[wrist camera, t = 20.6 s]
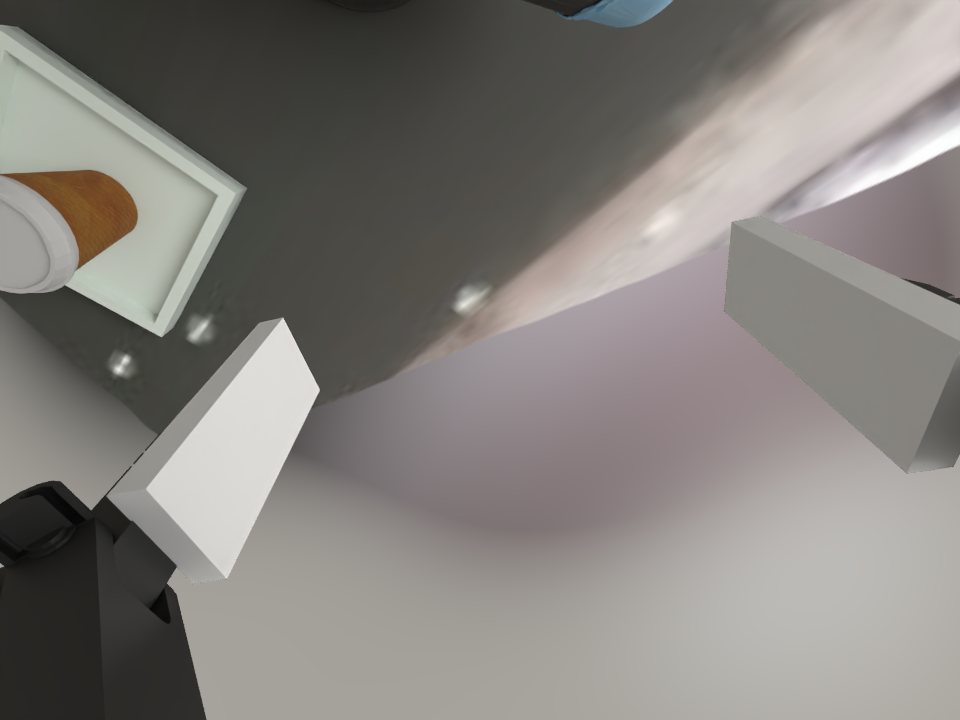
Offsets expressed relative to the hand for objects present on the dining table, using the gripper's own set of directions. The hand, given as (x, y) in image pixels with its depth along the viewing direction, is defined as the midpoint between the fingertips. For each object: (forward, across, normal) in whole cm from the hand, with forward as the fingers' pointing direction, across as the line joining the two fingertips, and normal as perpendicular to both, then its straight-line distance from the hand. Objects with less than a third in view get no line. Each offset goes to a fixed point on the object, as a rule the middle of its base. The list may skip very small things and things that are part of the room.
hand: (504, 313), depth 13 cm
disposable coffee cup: (+34, -37, +4) cm, 50 cm away
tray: (+35, -37, +4) cm, 51 cm away
